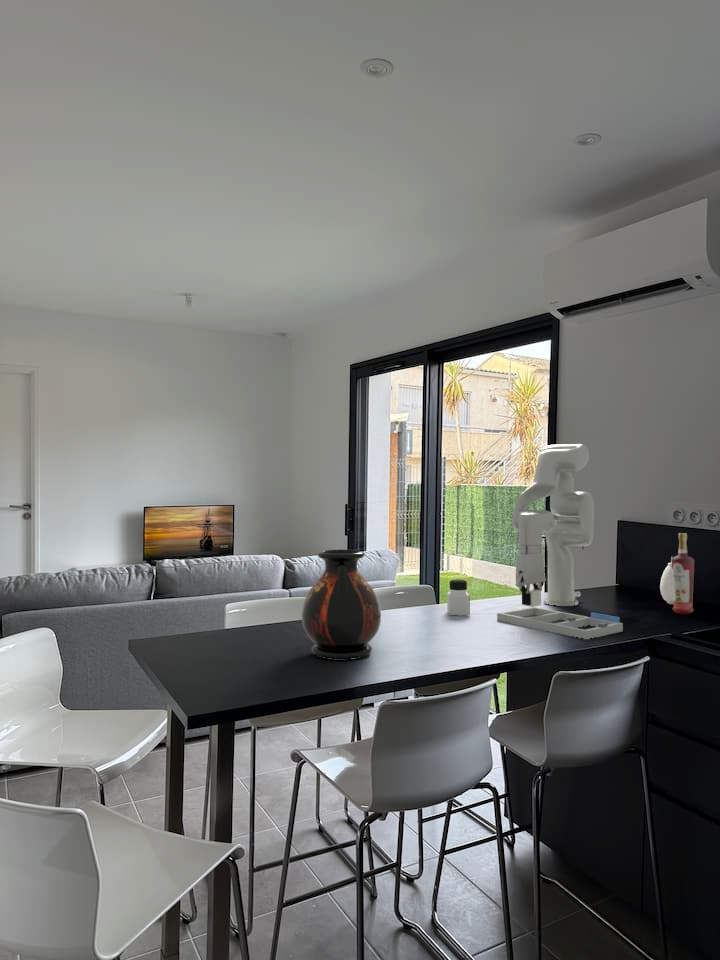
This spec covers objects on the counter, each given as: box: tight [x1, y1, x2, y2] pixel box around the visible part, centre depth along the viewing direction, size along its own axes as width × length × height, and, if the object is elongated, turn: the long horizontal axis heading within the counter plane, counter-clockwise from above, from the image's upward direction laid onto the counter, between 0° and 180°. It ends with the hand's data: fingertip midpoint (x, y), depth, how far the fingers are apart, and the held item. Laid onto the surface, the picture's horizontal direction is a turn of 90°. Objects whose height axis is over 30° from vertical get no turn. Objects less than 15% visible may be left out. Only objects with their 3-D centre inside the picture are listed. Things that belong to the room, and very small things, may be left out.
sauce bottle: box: [659, 556, 674, 605], centre depth 264 cm, size 8×8×18 cm
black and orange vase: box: [301, 549, 382, 659], centre depth 192 cm, size 22×22×28 cm
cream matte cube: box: [521, 588, 542, 607], centre depth 236 cm, size 4×4×5 cm
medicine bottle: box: [446, 578, 471, 616], centre depth 247 cm, size 7×7×12 cm
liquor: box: [670, 532, 695, 616], centre depth 246 cm, size 7×7×28 cm
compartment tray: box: [496, 606, 624, 640], centre depth 227 cm, size 19×35×4 cm, turn 37°
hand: (531, 602), depth 236 cm, fingers closed on cream matte cube, 4 cm apart
